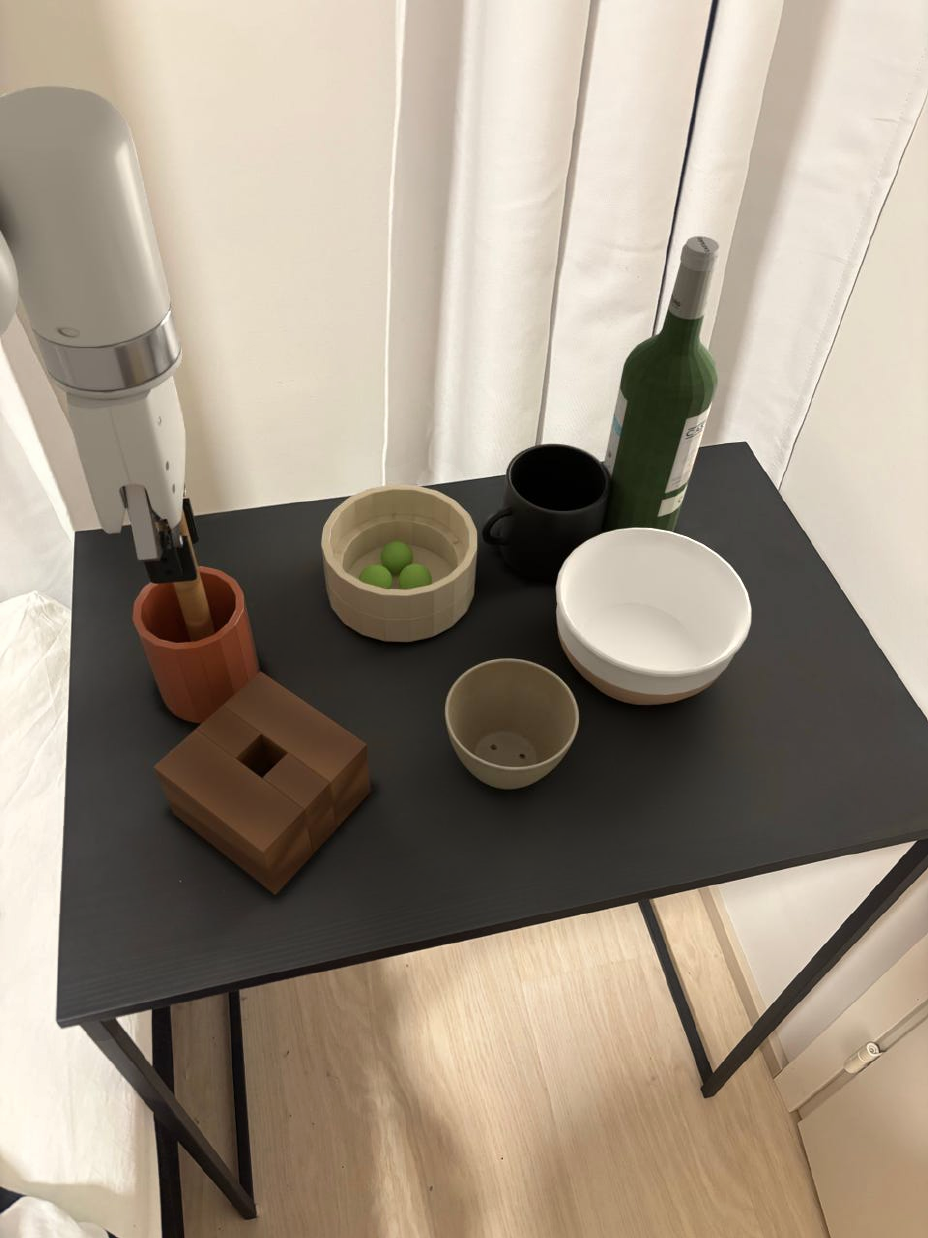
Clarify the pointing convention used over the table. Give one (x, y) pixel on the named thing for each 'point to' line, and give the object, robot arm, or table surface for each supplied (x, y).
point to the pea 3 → (414, 577)
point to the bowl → (650, 614)
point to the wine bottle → (663, 405)
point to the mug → (549, 508)
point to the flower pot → (510, 721)
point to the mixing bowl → (395, 614)
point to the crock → (197, 646)
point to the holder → (266, 780)
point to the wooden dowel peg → (192, 596)
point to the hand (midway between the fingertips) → (175, 558)
